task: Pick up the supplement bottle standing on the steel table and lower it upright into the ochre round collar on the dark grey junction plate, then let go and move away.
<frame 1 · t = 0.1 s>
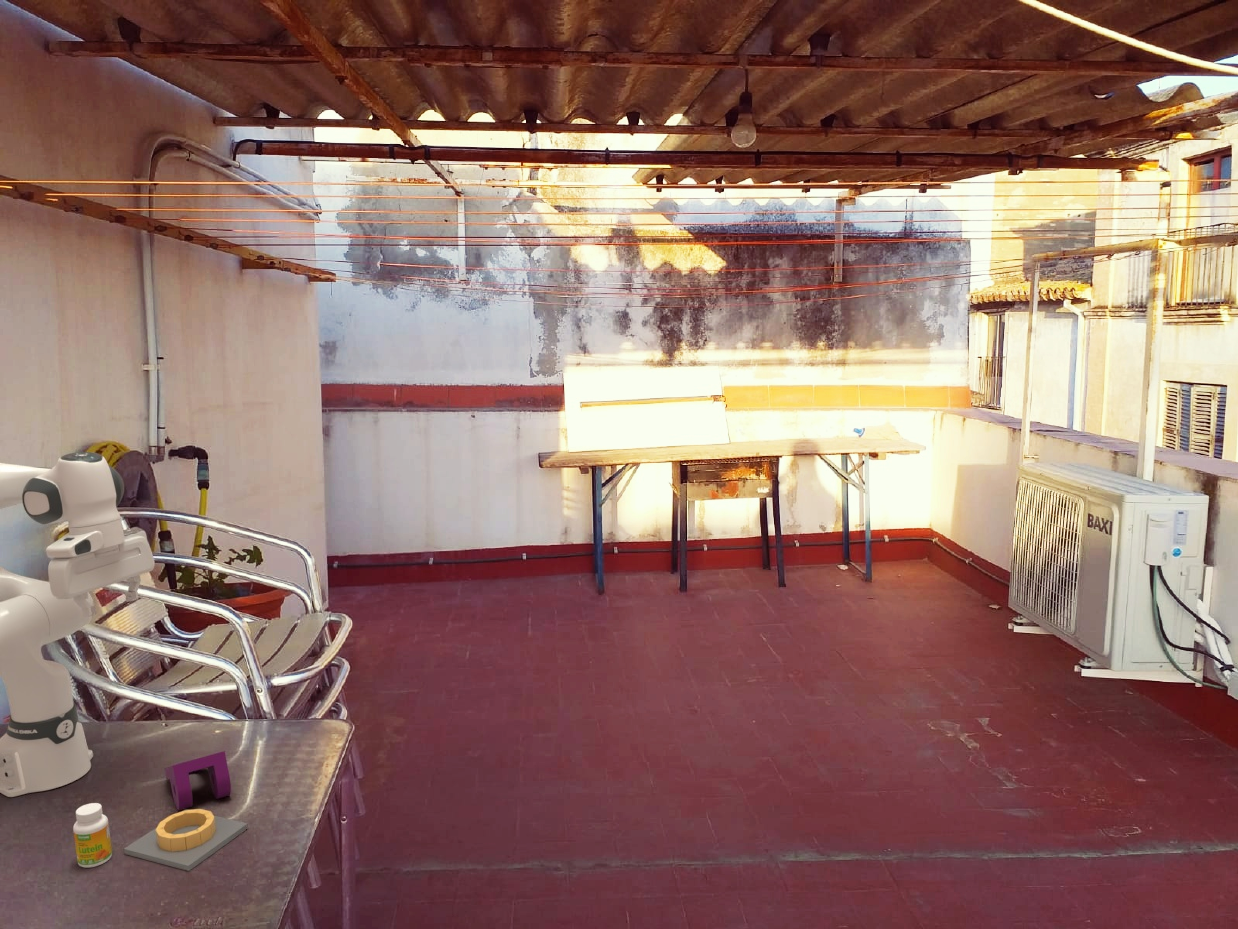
hand: (111, 607, 183), 39 cm above the table, tool pointing down, fingers open, 8 cm apart
mounting bracket: (196, 790, 192), on the table
supplement bottle: (95, 860, 169), on the table
junction plate: (187, 841, 174), on the table
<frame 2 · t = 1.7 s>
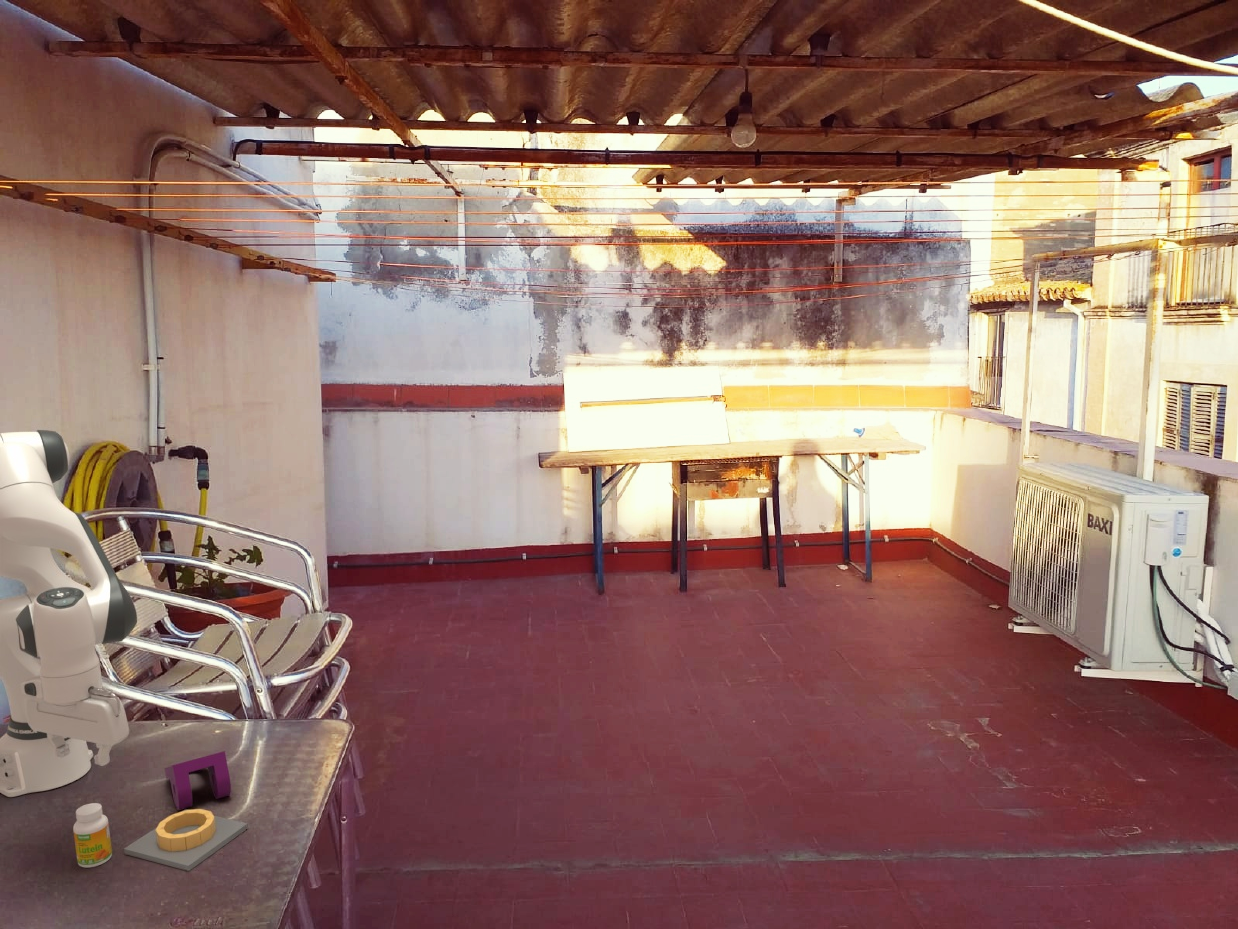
hand: (82, 759, 165), 19 cm above the table, tool pointing down, fingers open, 8 cm apart
nothing on the table moved.
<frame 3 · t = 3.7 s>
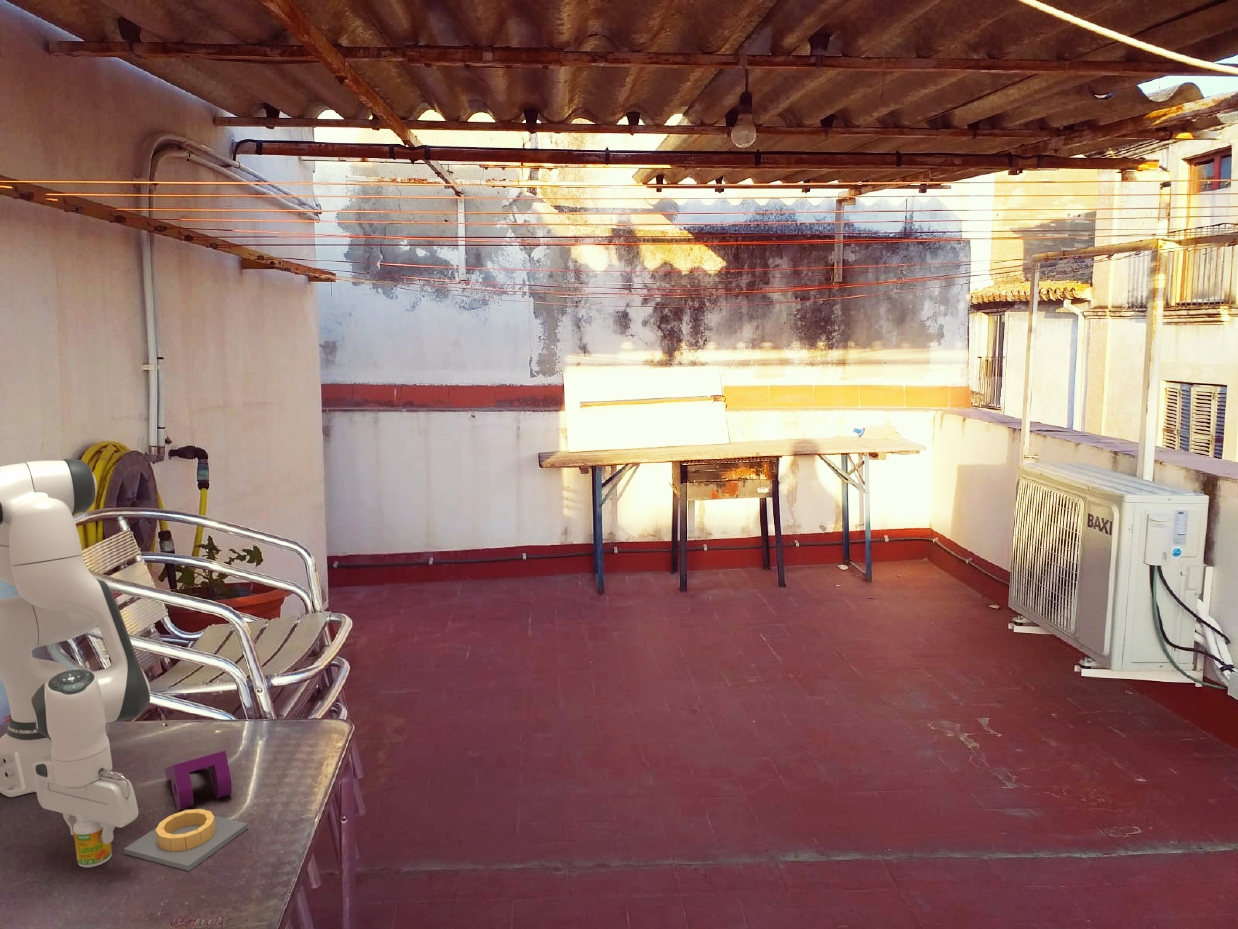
hand: (92, 838, 168), 4 cm above the table, tool pointing down, fingers closed on supplement bottle, 5 cm apart
supplement bottle: (95, 860, 169), on the table, touching gripper
everything else where it was.
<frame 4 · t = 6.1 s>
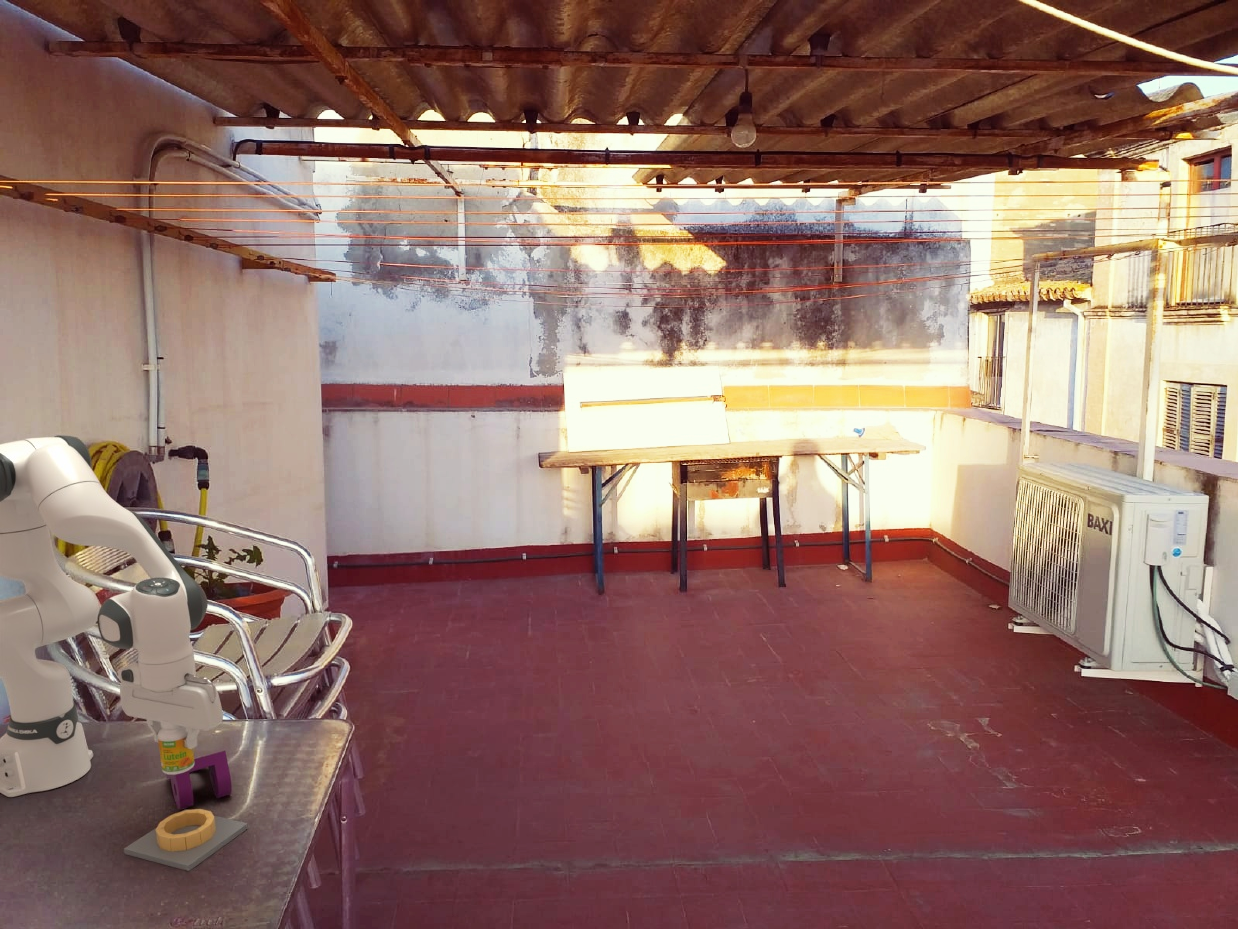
hand: (176, 744, 170), 19 cm above the table, tool pointing down, fingers closed on supplement bottle, 5 cm apart
supplement bottle: (178, 769, 171), point 14 cm above the table, touching gripper
everything else where it was.
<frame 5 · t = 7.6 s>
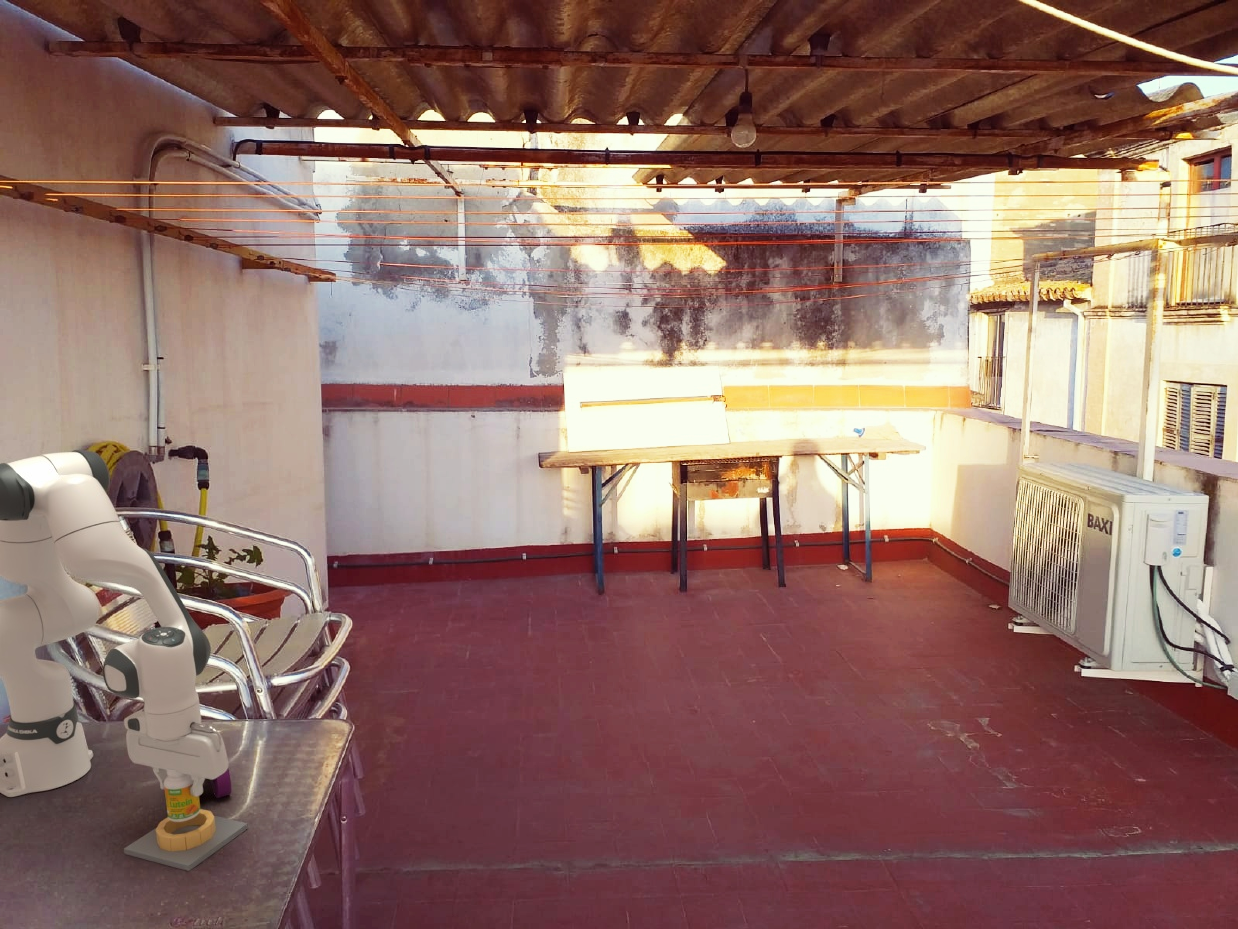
hand: (181, 791, 172), 10 cm above the table, tool pointing down, fingers closed on supplement bottle, 5 cm apart
supplement bottle: (184, 815, 173), point 5 cm above the table, touching gripper
everything else where it was.
when the fingers open (6 cm above the table, at t = 8.7 s): supplement bottle moves 1 cm, resting on junction plate.
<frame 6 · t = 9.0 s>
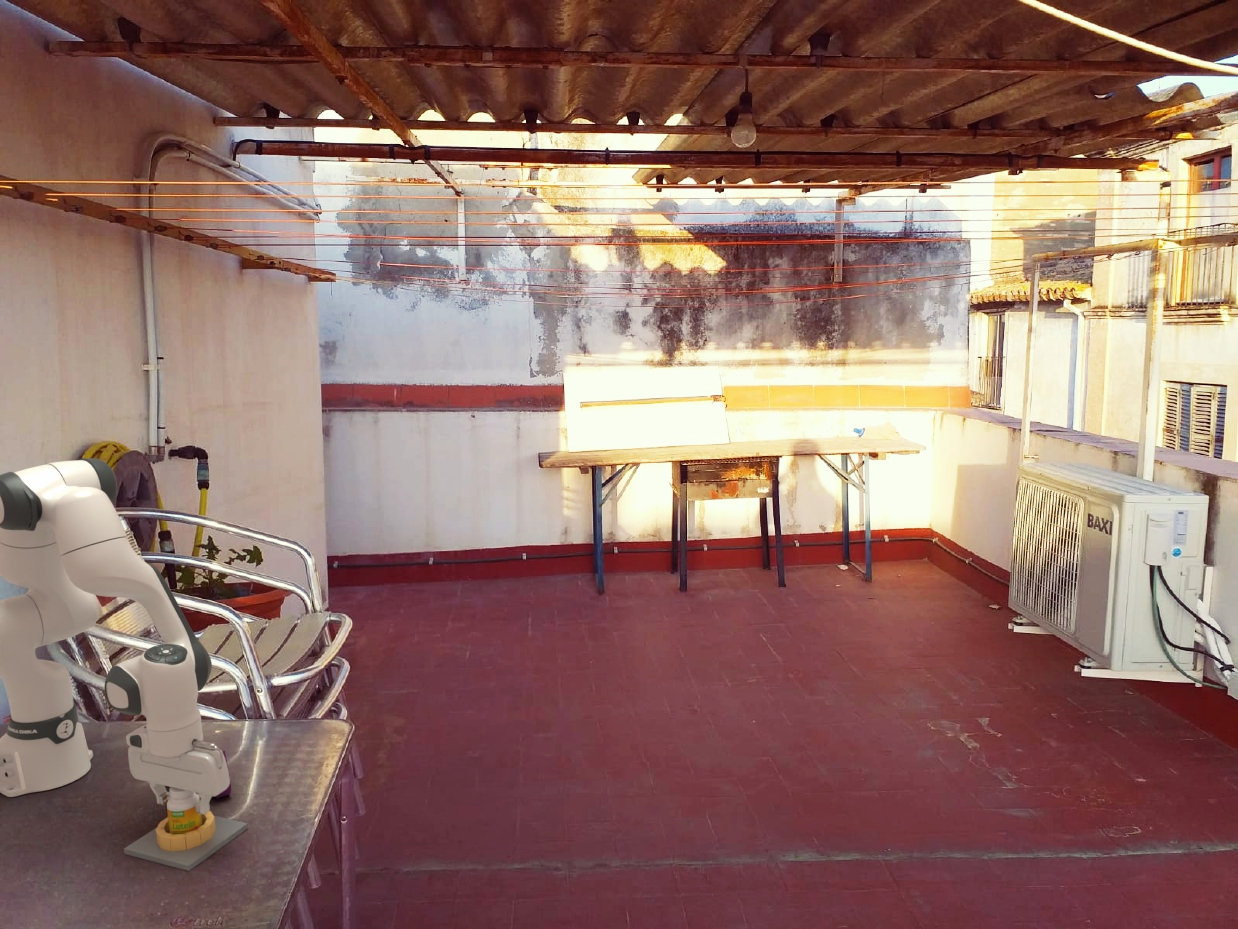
hand: (183, 807, 173), 7 cm above the table, tool pointing down, fingers open, 8 cm apart
supplement bottle: (187, 837, 174), point 1 cm above the table, touching junction plate
everything else where it was.
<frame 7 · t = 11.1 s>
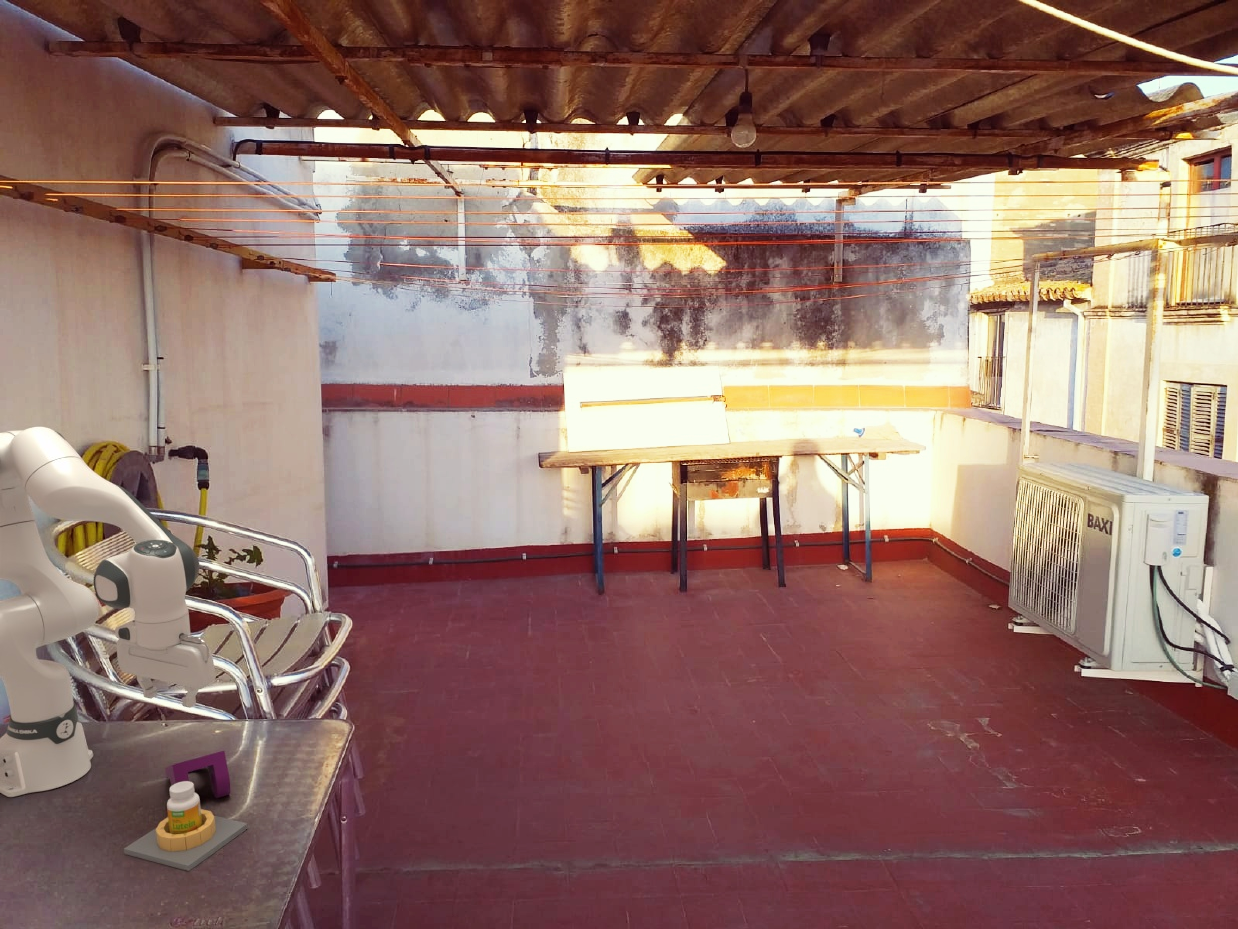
hand: (169, 701, 176), 24 cm above the table, tool pointing down, fingers open, 8 cm apart
nothing on the table moved.
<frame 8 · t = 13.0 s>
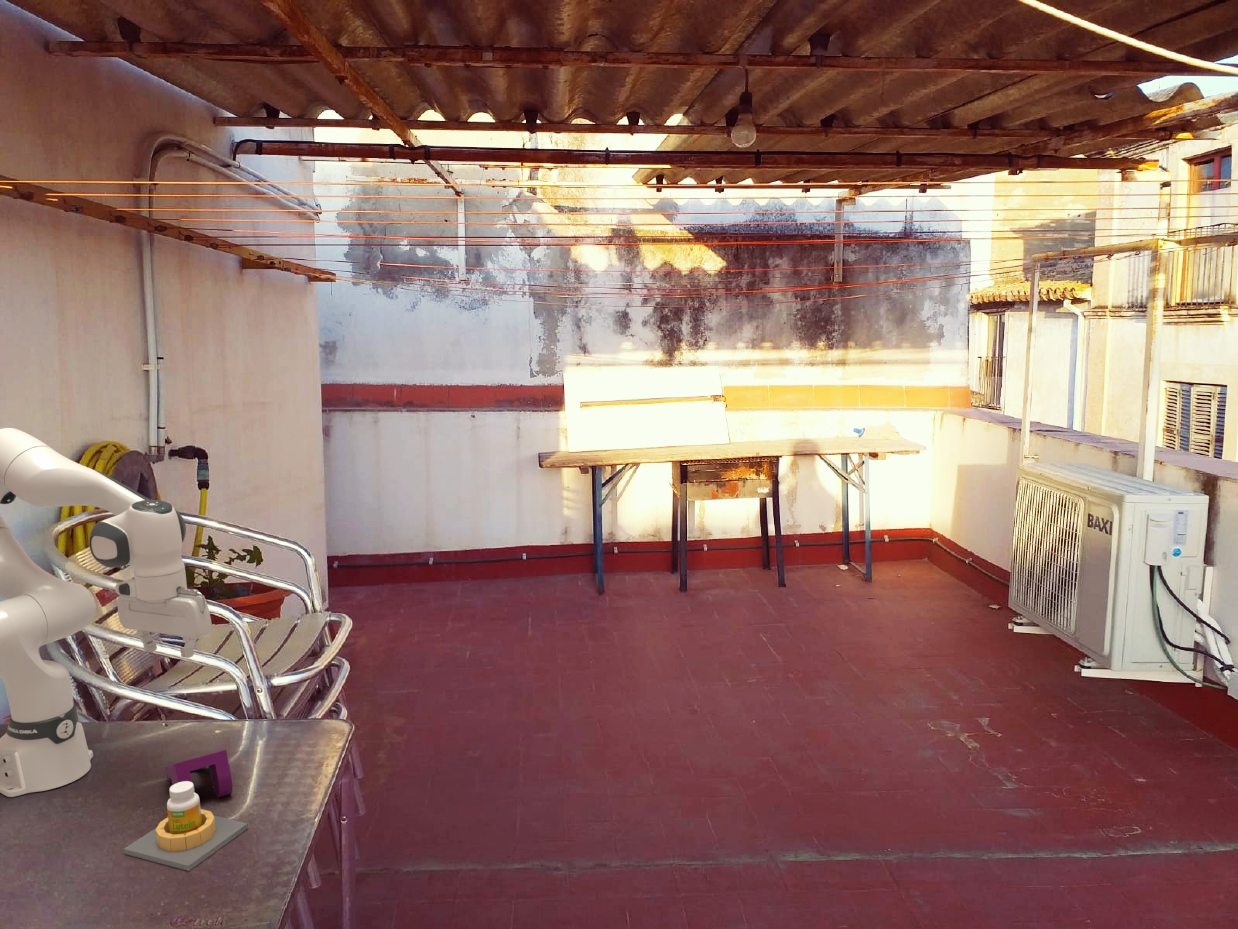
hand: (169, 653, 185), 29 cm above the table, tool pointing down, fingers open, 8 cm apart
nothing on the table moved.
at the end: supplement bottle 0.1 cm off-centre on the junction plate, point 0.8 cm above the junction plate's base; supplement bottle tilted 0°; the gripper is holding nothing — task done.
